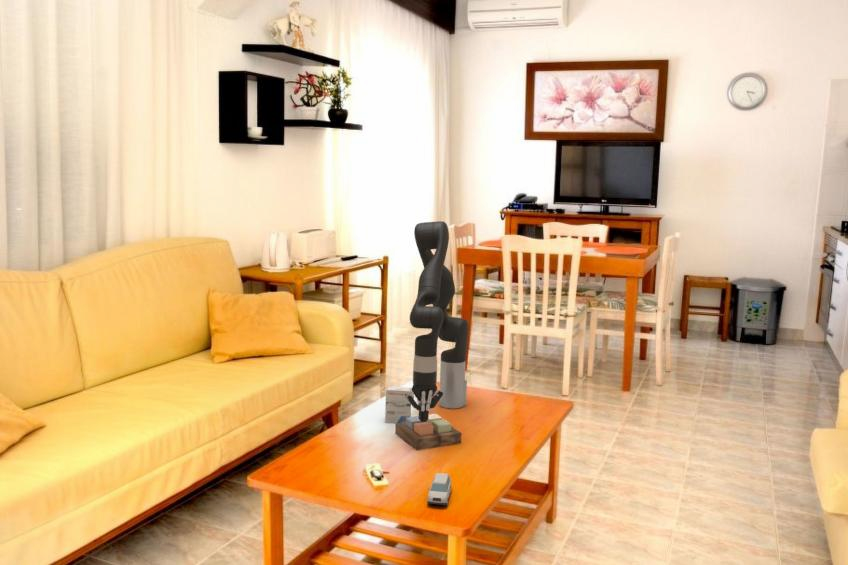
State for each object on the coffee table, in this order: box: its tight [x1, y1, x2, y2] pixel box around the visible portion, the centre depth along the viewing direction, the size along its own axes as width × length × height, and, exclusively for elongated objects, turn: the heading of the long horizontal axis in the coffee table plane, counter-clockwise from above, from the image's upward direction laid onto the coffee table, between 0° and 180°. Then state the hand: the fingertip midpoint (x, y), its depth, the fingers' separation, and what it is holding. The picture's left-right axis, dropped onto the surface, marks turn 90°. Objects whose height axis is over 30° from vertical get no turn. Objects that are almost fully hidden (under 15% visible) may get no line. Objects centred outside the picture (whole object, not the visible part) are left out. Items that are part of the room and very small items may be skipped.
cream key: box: [427, 413, 443, 425], centre depth 249 cm, size 5×5×2 cm
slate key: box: [406, 415, 423, 429], centre depth 247 cm, size 5×5×2 cm
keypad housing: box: [394, 422, 463, 451], centre depth 246 cm, size 16×16×4 cm
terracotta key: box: [414, 422, 434, 436], centre depth 241 cm, size 5×5×2 cm
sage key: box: [432, 419, 452, 433], centre depth 244 cm, size 5×5×2 cm
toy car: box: [426, 472, 452, 507], centre depth 201 cm, size 6×13×5 cm, turn 172°
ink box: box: [384, 386, 412, 424], centre depth 261 cm, size 8×5×12 cm, turn 84°
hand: (423, 421), depth 240 cm, fingers closed
